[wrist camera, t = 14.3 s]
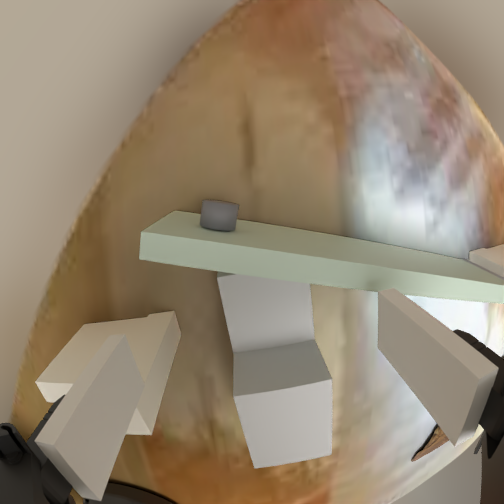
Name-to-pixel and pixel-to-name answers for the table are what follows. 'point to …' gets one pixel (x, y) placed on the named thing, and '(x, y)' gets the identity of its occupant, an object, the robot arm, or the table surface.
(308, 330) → the white stepped block
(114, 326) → the wall frame
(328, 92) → the table surface
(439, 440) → the wooden fragment
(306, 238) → the spring door
